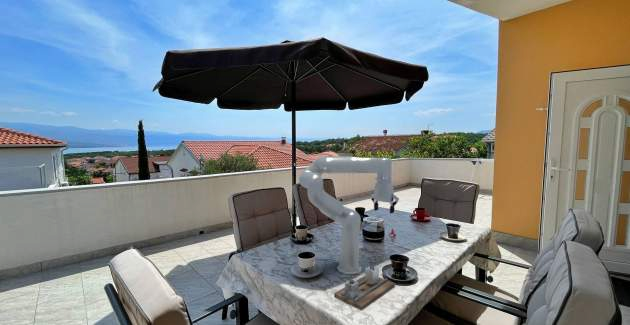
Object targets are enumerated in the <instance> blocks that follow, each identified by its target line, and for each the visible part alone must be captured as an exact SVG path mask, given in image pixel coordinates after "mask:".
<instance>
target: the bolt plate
mask: <svg viewBox="0 0 630 325" xmlns="http://www.w3.org/2000/svg"><path fill="white" fill-rule="evenodd" d="M395 287H396V283H395V282H392V281H390V280H389V279H388V278H385V279H384V278H382V277H379V281H378V282H376V283H375V284H373V285H372V284H369V283H367V282H365V275H364V276H362V277H361V278H359V279H357V280H354V279H349V280H347V281H345V282H344V287H343V288H341V289H339V290H337V291H335V292H334V293H333V297H334V298H336V299H338V300H340V301H342V302H343V303H346V304H348V305H350V306H352V307H354V308H356V309H357V310H360V311H362V310H364V309H365V308H367V307H368V306H369V305H371V304H372V303H374V302H375V301H376V300H378V299H380V298H381V297H382V296H383V295H386V293H388V292H389V291H391V290H392V289H393V288H395Z"/></svg>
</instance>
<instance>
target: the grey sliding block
mask: <svg viewBox="0 0 630 325" xmlns="http://www.w3.org/2000/svg"><path fill="white" fill-rule="evenodd" d="M364 269H365V270H364V276H365V282H367V283H369V284H372V285H373V284H375V283H376V282H378V281H379V278H380V268H379V267H377V266H375V265H369V266H368V267H365V268H364Z"/></svg>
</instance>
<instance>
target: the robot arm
mask: <svg viewBox="0 0 630 325" xmlns="http://www.w3.org/2000/svg"><path fill="white" fill-rule="evenodd" d="M392 162H393V161H392V159H391V158H390V157H355V156H322V155H321V156H318V157H317V158H316V159H315V160H313V162H311V163H310V164H309V165H308V166H307V167H306V168H305V169H304V170H303V171H302V172H301V173H300V175H299V178H298V182H299V185H300V186H301V187H303V188H306V189H307V197H308V200H309V202H310V203H311V204H312V205H313V206H314V207H316V208H317V209H318V210H319V211H320V213H322V214H323V215H325V216H326V217H328V218H330V219H331V220H333V221H334V222H335V223H337V224H339V225H341V226H342V227H341V231H340V237H339V239H340V241H339V242H340V243H339V244H340V253H339V254H340V256H337V257H336V259H335V262H336V263H338V264H337V267H336V268H337V270H338V271H339V273H341V274H345V275H357V274H359V273H361V272H362V269H363V268H362V265H361V264H360V263H359V262H360V261H359V260H360V259H359V258H360V252H359V251H360V250H359V249H360V248H359V247H360V241H359V239H360V228H361V221H362V220H361V219H362V218H361V215H360V214H359V213H358V211H356V210H354V209H351V208H350V207H346V206H345V205H343V204H342V202H341V201H340V200H338V199H336V198H335V197H333V196H332V195H331V194H329V193H328V192H326V191H325V190H324V179H323V177H322V175H323V174H329V175H331V174H332V175H333V174H335V175H336V174H376V177H375V179H374V180H375V181H376V182H375V184H374V190H373V191H374V192H373V193H370V195H369V196H370V199H371V201H372V203H373V211H378V210H379V202H381V203H389V214H394V213H395V206H396V205H397V204H398V202H399V201H400V198H399V196H397V195H395V193H394V185H393V183H392Z"/></svg>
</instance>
